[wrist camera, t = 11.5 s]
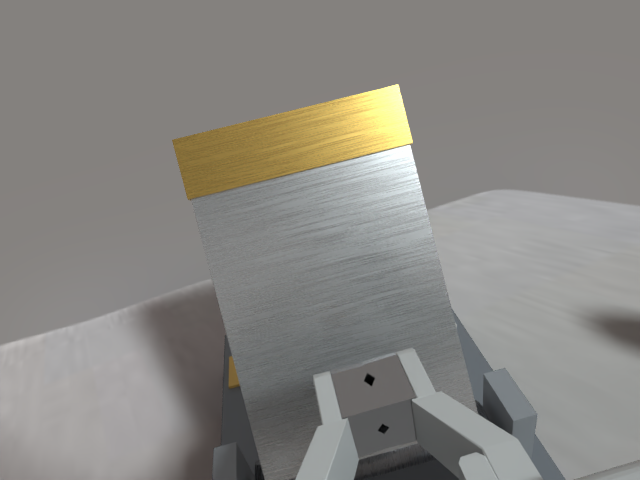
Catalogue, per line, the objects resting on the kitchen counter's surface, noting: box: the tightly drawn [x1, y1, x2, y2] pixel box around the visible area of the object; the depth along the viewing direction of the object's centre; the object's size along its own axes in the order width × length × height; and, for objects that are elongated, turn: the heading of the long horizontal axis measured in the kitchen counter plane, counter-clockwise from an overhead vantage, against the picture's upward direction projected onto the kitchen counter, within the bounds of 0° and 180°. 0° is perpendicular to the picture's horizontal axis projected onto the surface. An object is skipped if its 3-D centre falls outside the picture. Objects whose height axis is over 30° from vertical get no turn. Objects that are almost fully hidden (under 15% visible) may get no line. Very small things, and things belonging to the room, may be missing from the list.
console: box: [212, 310, 565, 480], centre depth 22 cm, size 18×15×6 cm
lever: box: [172, 85, 489, 480], centre depth 18 cm, size 3×10×16 cm
